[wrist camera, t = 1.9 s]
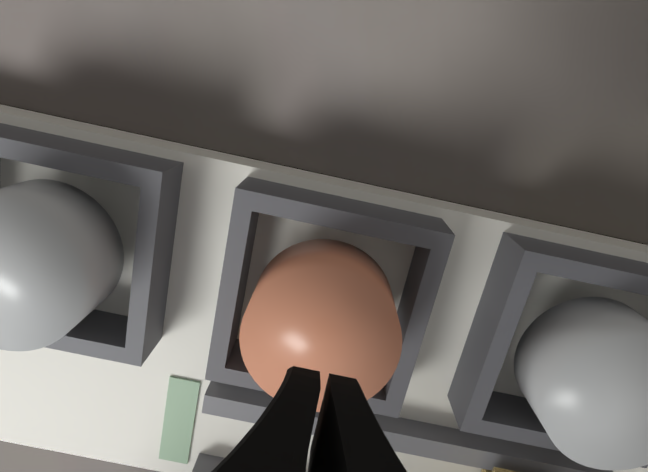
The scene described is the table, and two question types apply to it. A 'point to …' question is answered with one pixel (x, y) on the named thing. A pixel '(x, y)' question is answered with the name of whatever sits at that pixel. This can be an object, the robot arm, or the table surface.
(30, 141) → the panel
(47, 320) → the grey button
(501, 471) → the brass slider
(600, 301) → the grey button
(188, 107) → the table surface
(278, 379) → the terracotta button
